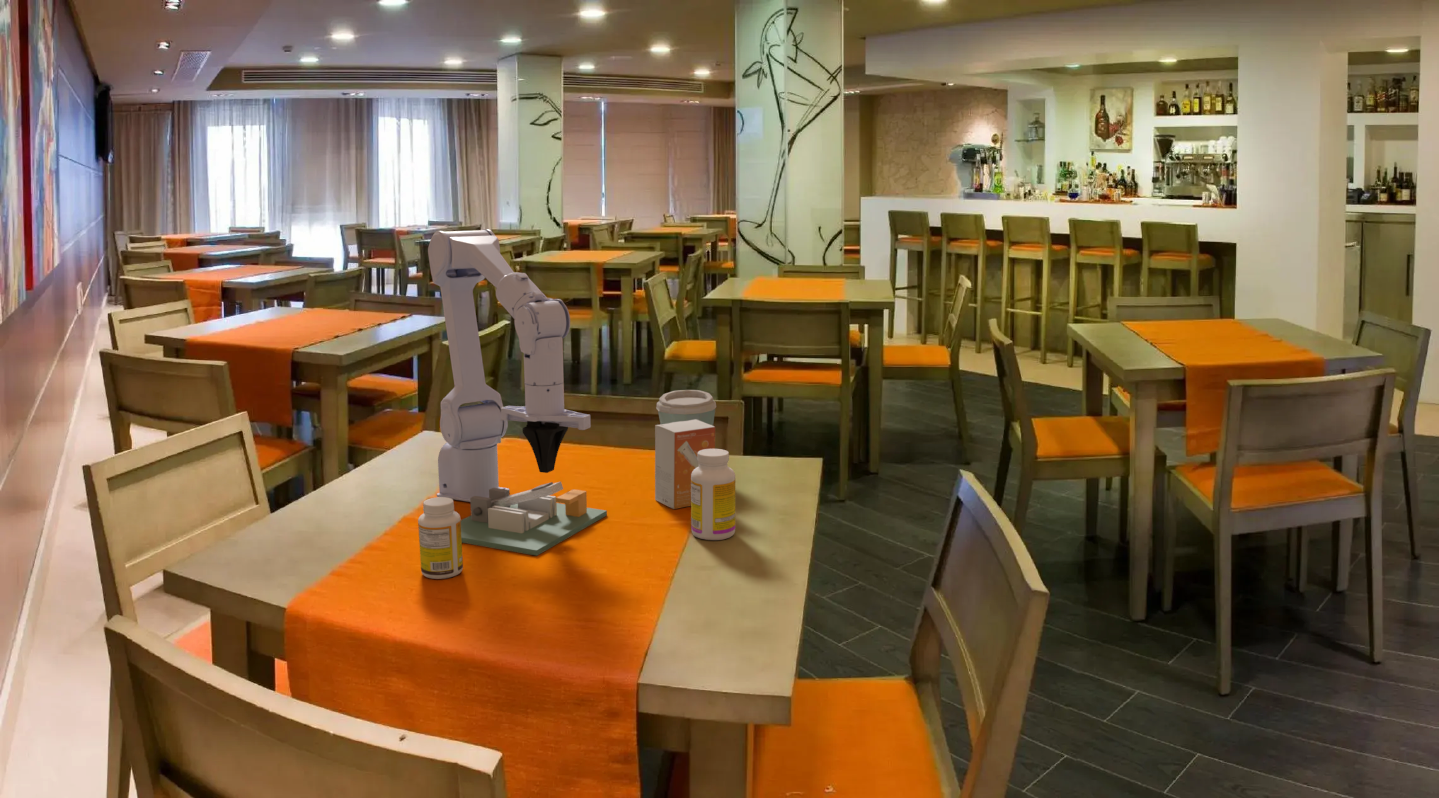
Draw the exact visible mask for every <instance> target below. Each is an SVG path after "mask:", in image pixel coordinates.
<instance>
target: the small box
mask: <svg viewBox="0 0 1439 798" xmlns="http://www.w3.org/2000/svg"><path fill="white" fill-rule="evenodd" d="M654 430H655V431H654V439H655V441H654V445H655V447H654V449H655V450H654V451H655V453H654V461H655V462H654V479H655V480H654V481H655V482H654V489H655V490H654V500H655V501H656V502H659V503H660V504H663V505H664V506H667V507H668V508H670V509H673V510H677V509H682V508H687V507H691V474H692V471H693V470H694V469H695V468H697V467H699V462H698V460H697V457H698V451H700V450H703V449H716V426H714V425H713V426H712V425H710V424H707V423H704V422H702V421H699V420H697V419H695V420H689V421H679V422H672V423H668V424H655V425H654Z"/></svg>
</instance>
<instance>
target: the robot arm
mask: <svg viewBox="0 0 1439 798" xmlns="http://www.w3.org/2000/svg"><path fill="white" fill-rule="evenodd" d="M427 254H428V261H429V267H430V268H429V269H430V274H431V278H432V283H433V284H434V285H436V286H439V288H440V294H441V300H442V301H441V302H442V307H443V315H444V322H445V329H446V336H447V341H448V351H449V355H450V356H449V357H450V364H451V370H452V378H453V383H454V387H453V388H452V389H450V391H449V392H448V393H447V394H446V396H444V397H443V398H442V400H441V401H440V420H439V427H440V433H441V434H442V435H441V436H442V437H443V440H444V441H445V442H446V443H444V444H443V445H442V446H441V447H440V450H439V453H438V458H437V469H438V470H437V471H438V484H439V485H438V486H439V487H438V488H439V489H438V490H439V491H438V492H437V493H436V497H447V498H451V499H453V500H456V501H461V502H467V503H471V502H470V498H471V497H473V496H480V497H486V498H489V489H491V488H500V489H506V490H509V492H510V491H511V490H510V488H509V487H508V488H507V487H502V486H501V487H500V486H499V483H500V481H499V462H498V461H499V460H498V444H500V443H502V439H501V438H503V437H504V436H505V434H506V432H507V430H508V426H509V423H508V422H509V421H513V422H522V423H523V422H524V423H527V424H526V426H524V427H522V434H523V435H524V437H525V438H526V440H527V441H528V443H529V445H530V447H531V450H532V452H533V454H534V458H535V459H536V463H537V466H538V467H537V468H538V471H539V472H540V473H544V474H548V473H550V472H553V471H554V470H555V465H556V460H557V457H558V452H559V450H560V446H561V444H562V441H563V439H564V437H565V435H566V434H567V431H568V430H569V428H573V429H578V430H580V431H585V430H587V429H591V426H592V425H591V424H592V423H591V420H592V419H591V414H587V413H582V412H577V411H573V410H569V409H565V391H564V389H565V383H564V350H563V349H564V345H563V344H564V343H563V340H564V339H565V337H567V336H568V334H569V333H570V328H571V316H570V313H569V309H568V307H567V305H566V304H565V303H564V300H562V299H561V298H552V297H547V296H546V295H545V294H544V293H543V291H541V289H539V287H538V286H537V285H536V283H534V281H533V280H532V279H530V278H529V276H528V275H527V273H526V272H516V271H515V272H514V270H513V268H512V267H511V266H510V265H509V263H508V262H507V260H506V259H505V258H504V257H503V255H502V254H501V248H500V241H499V238H498V237H497V236H496V234H495V233H494V232H493V231H492V230H491V229H489V228H485V229H480V230H479V229H477V230H455V231H454V230H452V231H451V230H449V231H443V230H437V231H435V232H434V233H433V235H432V236H431V238H430V241H429V244H428V247H427ZM485 279H486V280H487V281H488V282H489V283H491V284H492V285H493V286H494V287H495V297H496V299H497V301H498V302H499V303H500V304H501V306H502V307H503V308H504V309H505V310H506V311H507V312H508V314H509V315H510V316H511V317H512V318H513V319H514V321H513V322H514V328H515V332H516V336H517V337H518V342H519V349H520V352H521V353H523V369H524V370H523V373H524V374H523V376H524V405H523V406H522V405H521V406H518V405H517V406H516V405H506V406H504V404H503V401H502V396H501V393H499V392H498V391H497V390H496V389H493V388H492V387H491V386H489V385H488V384H486V376H485V370H484V369H485V368H484V364H483V356H482V355H483V354H482V349H481V341H480V336H479V328H478V322H477V321H478V320H477V315H476V307H475V306H476V304H475V300H474V299H475V298H474V293H473V291H474V288H475V286H476V285H477V283H480V282H481V281H484V280H485ZM476 402H481V403H478V404H472V405H470V404H469V405H466V406H465V405H464V404H468V403H476ZM461 405H464V406H461Z"/></svg>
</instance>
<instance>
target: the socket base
mask: <svg viewBox="0 0 1439 798" xmlns="http://www.w3.org/2000/svg"><path fill="white" fill-rule="evenodd" d="M509 495H510V491H509V490H506V489H500V488H491V489H489V498H486V497H480V496H473V497H471V498H470V502H469V503H470V515H468V516H467V517H464V518H462V519H460V520H461V540H462V544H469V545H474V546H479V547H480V546H481V547H484V548H485V547H486V548H490V549H491V548H492V549H497V550H503V551H508V552H509V551H510V552H513V553H520V554H525V555H531V556H536V557H537V556H539V555H541V554H542V553H544V552H545V551H547V550H549V549H551V548H553V547H555V546H556V545H557V544H560V543H562V542H563V541H565V540H566V539H568V538H571V537H572V536H574V535H576V534H578V532H580V531H582V530H584V529H586V528H587V527H588V528H589V526H591V525H593V524H594V523H596V522H598V521H599V520H602V519H603V518H605V517H607V515H608V511H607V510H606V509H605V510H604V509H599V508H592V507H587V513H585V514H583V515H581V516H580V517H576V516H570V515H566V510H565V504H564V503H558V502H556V498H557V496H555V495H548V496H545V497H541V498H537V499H533V500H529V501H526V502H522V503H518V504H514V505H510V506H507V507H501V506H493V508H492V506H491V501H492V500H495V499H498V498H502V497H505V496H509Z"/></svg>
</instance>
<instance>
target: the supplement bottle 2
mask: <svg viewBox="0 0 1439 798" xmlns="http://www.w3.org/2000/svg"><path fill="white" fill-rule="evenodd" d="M697 460H698V462H699V467H697V468H695V469H694V470H693V471H692V474H691V506H690V508H691V509H690V511H691V512H690V515H691V517H690V520H691V521H690V525H691V526H690V527H691V533H692V535H693V536H694V537H696V538H698V539H700V540H705V541H721V540H725V539H726V540H727V539H729V538H731V537H733V535H735V533H736V473H735V470H734V469H733V468H731V467H730V466H728V463H729V460H730V453H729V451H728V450H727V449H726V450H725V449H721V448H715V449H703V450H700V451H698V457H697Z"/></svg>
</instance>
